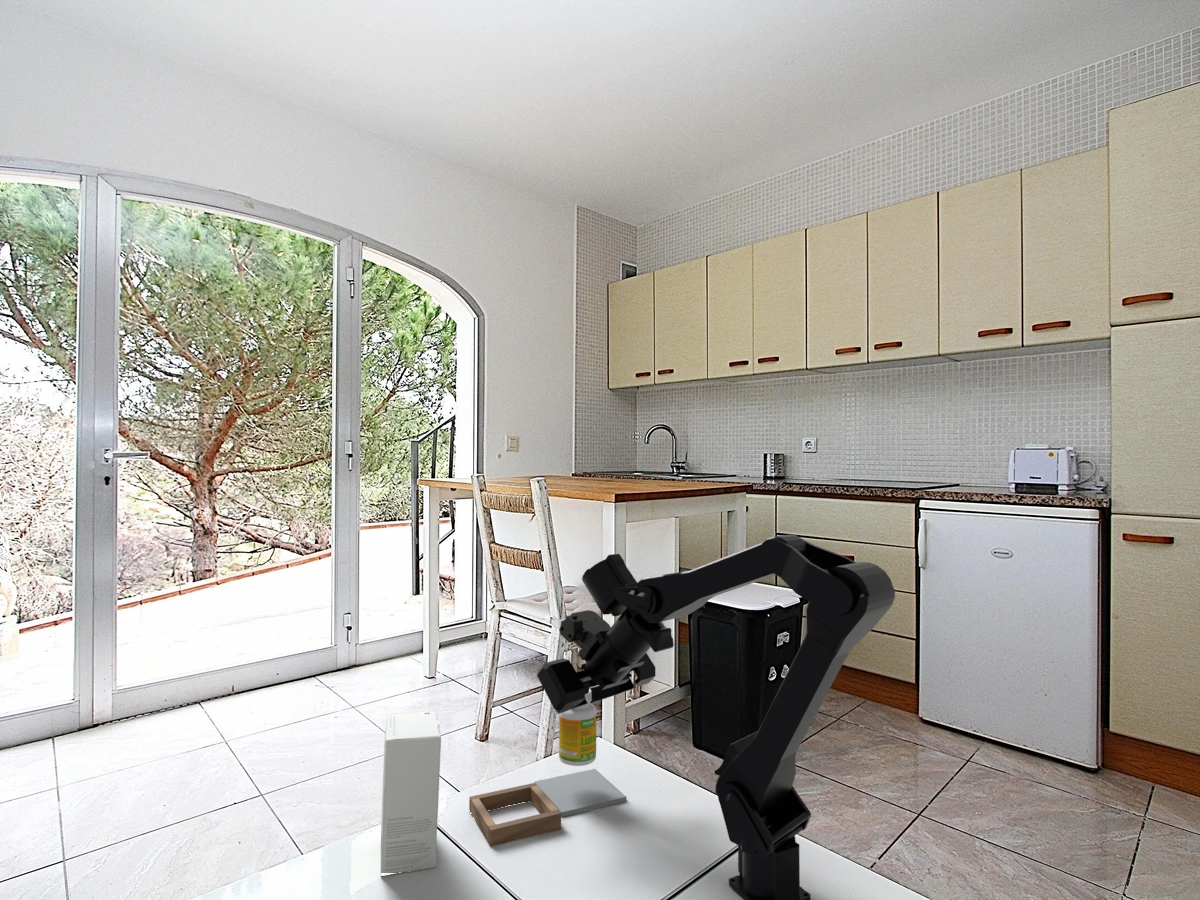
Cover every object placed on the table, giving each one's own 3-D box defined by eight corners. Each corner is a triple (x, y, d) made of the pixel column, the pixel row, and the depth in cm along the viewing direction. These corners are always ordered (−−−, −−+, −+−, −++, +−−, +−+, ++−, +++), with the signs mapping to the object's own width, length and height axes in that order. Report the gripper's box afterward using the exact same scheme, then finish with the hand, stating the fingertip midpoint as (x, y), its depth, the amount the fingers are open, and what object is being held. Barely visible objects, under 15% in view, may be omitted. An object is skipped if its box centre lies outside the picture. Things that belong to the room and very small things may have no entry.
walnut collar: (561, 828, 85) (561, 813, 85) (490, 846, 81) (490, 830, 81) (534, 797, 93) (534, 782, 93) (469, 811, 89) (469, 796, 89)
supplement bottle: (583, 770, 91) (583, 698, 91) (551, 761, 93) (552, 692, 94) (603, 756, 95) (603, 688, 96) (571, 748, 98) (572, 682, 99)
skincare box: (381, 840, 82) (384, 714, 83) (435, 832, 84) (437, 709, 85) (379, 879, 74) (382, 739, 75) (439, 869, 76) (442, 732, 77)
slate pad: (626, 800, 92) (626, 796, 92) (561, 816, 88) (561, 812, 88) (594, 772, 101) (594, 768, 101) (534, 785, 97) (534, 781, 97)
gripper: (640, 587, 99) (590, 648, 107) (546, 603, 86) (496, 671, 94) (682, 649, 93) (626, 709, 101) (587, 675, 80) (530, 742, 88)
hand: (571, 706), depth 96 cm, fingers closed on supplement bottle, 5 cm apart
